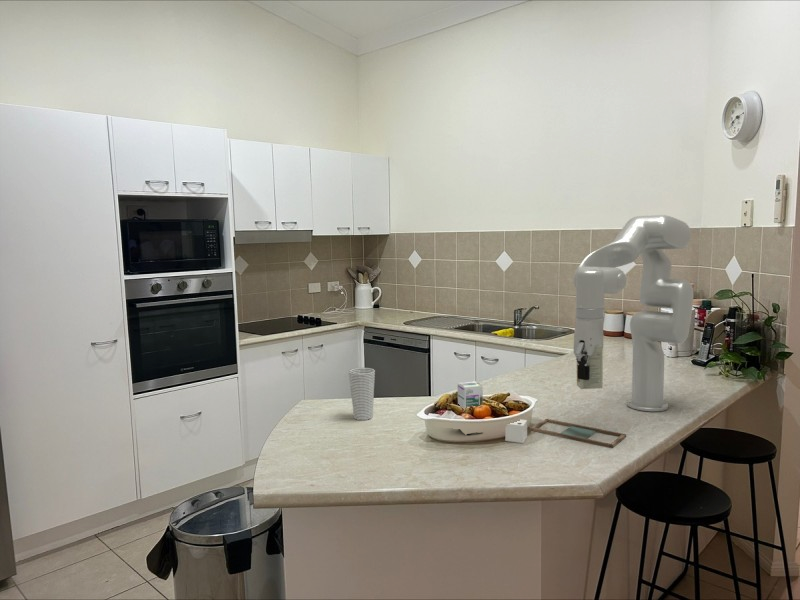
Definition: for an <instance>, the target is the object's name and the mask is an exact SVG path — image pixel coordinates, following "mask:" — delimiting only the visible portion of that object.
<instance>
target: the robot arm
mask: <svg viewBox="0 0 800 600" xmlns="http://www.w3.org/2000/svg"><path fill="white" fill-rule="evenodd" d="M691 238H692V231H691V229H690V226H689V225H688V223H687V222H684V221H683V220H681V219H678V218H676V217H674V216H670V215H666V214H659V215H638V216H633V217H632V218H630V219H629V220H628V221H627V222H626V223H625V225H624V226H623V227H622V229H621V230H620V231H619V233H618V234H617V235H616V237H614V240H613V241H612V242H611V243H608V244H605V245H604V246H602V247H600V248H598V249H596V250H595V251H594V250H593V252H590V253H589V254H588V255H586V256H585V257H584V258H583V259H582V261H581V262H580V264H579V265H578V267H577V268H576V269H575V272H574V275H573V279H572V281H573V286H574V288H575V325H574V334H573V335H574V336H573V354H574V356H575V358H576V366H577V365H578V379H582V380H589V378H590V366H588V363H589V358H590V356H592V355H594V354H595V352H596V347H597V346H598V345H601V346H602V350H604V322H603V321H604V320H605V294H606V295H607V294H608V295H614V294H617V293H619V292H621V291H622V290H624V288H625V286H626V284H627V277H626V276H627V275H626V274H625V272H624V271H623V270H622V269H620V268H618V267H623V266H626V265H628V264H632V263H634V262H635V261H636V260H637V259H638V257H639V256H641V261H642V271H641V277H640V278H641V280H640V288H639V302H640V303H641V305H643V306H645V307H650V308H660V309H672V312H666V311H665V312H664V311H656V310H655V311H654V310H641V311H637V312H635V313H633V315H632V316H631V318H630V322H629V329H630V335H631V341H632V371H631V373H632V378H631V380H632V381H631V398H629V399H627V400H626V405H627V406H628V407H629V408H631V409H633V410H638V411H642V412H643V411H644V412H653V413H655V412H663V411H667V410H668V409H669V404H668V402H666V401H664V390H665V389H664V386H665V385H664V384H665V381H664V380H665V352H664V350H663V348H662V346H661V345H660V343H668V344H683V343H684V342H685V341H686V340H687V339H688V337H689V333H690V327H691V319H692V311H693V303H694V289H693V285H692V283H691V282H690V281H689V280H687V279H681V278H671V274H672V262H671V260H670V258H669V257H668V255H667V253H665V251H664V250H682V249H685V248H687V246H689V244H690V242H691ZM582 352H585V353H587V354H582ZM584 357H586V360H585V359H584Z"/></svg>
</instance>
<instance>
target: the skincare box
mask: <svg viewBox="0 0 800 600" xmlns="http://www.w3.org/2000/svg"><path fill="white" fill-rule="evenodd" d="M582 354H587V353H585V352H582ZM584 359H585V360H586V357H584ZM603 364H604V363H603V349H602V346H601V345H598V346H597V347H596V352H595V354H594V355H592V356H590V358H589V363H588V366H590V378H589V380H582V379H578V365H577V364H576V386H577V387H578V388H579V389H581V390H585V389H586V390H593V389H604V388H603V384H604V383H603V370H604V369H603V368H604V367H603Z"/></svg>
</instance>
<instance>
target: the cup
mask: <svg viewBox="0 0 800 600" xmlns="http://www.w3.org/2000/svg"><path fill="white" fill-rule="evenodd" d="M375 375H376V370H375V369H374V368H371V367H354V368H351V369H349V370H348V378H349V379H348V380H349V385H350V387H349V388H350V392H351V393H350V395H351V403H352V404H351V405H352V410H353V412H352V413H353V418H354V419H355V420H356V419H357V421H369V420H371V419H373V413H374V398H375V397H374V396H375V378H376V377H375ZM368 419H369V420H368Z"/></svg>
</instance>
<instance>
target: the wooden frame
mask: <svg viewBox="0 0 800 600" xmlns="http://www.w3.org/2000/svg"><path fill="white" fill-rule="evenodd" d="M549 423H550V424H554V425H559V426H563V427H564V426H565V427H567V428H566V429H565V430H563V431H561V432H556V431H552V430H548V429H542V428H540V427H542V426H544V425H546V424H549ZM530 432H535V433H541V434H545V435H549V436H555V437H559V438H563V439H567V440H568V439H569V440H573V441H577V442H582V443H587V444H592V445H596V446H601V447H605V448H610V449H613V448H614V447H617V445H618V444H620V443H621V442H622V441H623V440H624V439H626V438H627V434H626V433H621V432H616V431H611V430H606V429H601V428H596V427H592V426H586V425H581V424H576V423H571V422H566V421H560V420H556V419H555V420H554V419H550V418H545V419H543V420H541V421H540V422H538V423H537V424H535V425H533V426H532V427H530ZM596 433H599V434H603V435H604V434H605V435H609V436H615V437H617V438H616V439H615V440H614V441H613V442H610V443H608V442H604V441H600V440H594V439H589V437H591V436H593V435H594V434H596Z"/></svg>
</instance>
